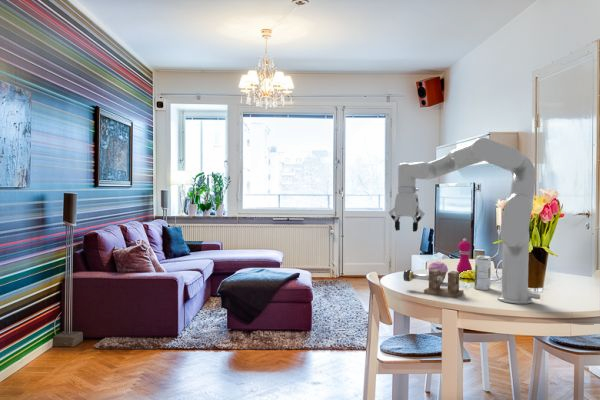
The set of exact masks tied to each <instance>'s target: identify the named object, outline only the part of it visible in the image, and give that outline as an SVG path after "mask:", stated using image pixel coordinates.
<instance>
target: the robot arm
mask: <svg viewBox="0 0 600 400" xmlns="http://www.w3.org/2000/svg"><path fill="white" fill-rule="evenodd" d="M481 162H486V163H489V164H491V165H494V166H496V167H499V168H502V169H504V170H506V171H509V172H510V173H511V174H512V177H511V178H512V179H511V183H510V184H511V185H510V193H509V196H508V198H507V200H506V202H505V203H504V206H503V207H504V208H503V215H502V221H501V227H500V234H499V235H500V239H501V241H502V255H501V260H502V261H501V263H502V264H501V294H498V295H497V297H496V298H497V300H498V301H500V302H504V303H510V304H518V305H519V304H520V305H521V304H522V305H525V304H526V305H527V304H532V302H533V299H535V300H541V294H540V293H536V292H534V293H533V292H530V289H529V260H530V254H529V253H530V252H529V251H530V230H529V229H530V223H531V217H532V212H533V209H534V196H535V189H536V179H537V172H536V167H535V165H534V163H533V162H532V160H531V159H530V158H529V157H528V156H527V155H526V154H524V153H522V152H521V151H520V150H519V149H516V148H514V147H511V146H509V145H505V144H503V143H501V142H497V141H495V140H493V139H491V138H488V137H478V138H476V139H474V141H473V142H472V143H469V144H466V145H463V146H461V147H457V148H455V149H452V150H450V151H449V152H448V153H447V154H446V155H444V156H442V157H441V158H438V159H435V160H431V161H428V162H427V161H417V162H401V163H399V164H398V167H397V169H398V170H397V171H398V172H397V176H398V177H397V193H396V195H395V199H394V207H393V208H392V209H391V210H389V211H388V214H389V216H390V217H391V219H392V220H393V221H394V229H395V231H400V228H401V226H400V225H401V222H400V219H401V217H407V218H410V217H411V218H412V222H413V223H412V231H413V232H414V233H415V232H417V231H418V229H419V222H420V221H421V220H422V218H424V216H425V214H426V213H425V212H424V211H423V210H422V209H420V206H419V205H420V204H419V203H420V201H419V195H418V194H417V192H419V187H418V188H417V186H416V180H417V179H419V180H429V181H430V180H433V179H435V178H439V177H442V176H445V175H447V174H450V173H452V172H456V171H458V170H462V169H464V168H467V167H469V166H473V165H475V164H479V163H481Z"/></svg>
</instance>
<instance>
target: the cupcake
mask: <svg viewBox="0 0 600 400" xmlns="http://www.w3.org/2000/svg"><path fill="white" fill-rule="evenodd" d="M427 269H428V272H429V271H430V270H433V269H437V270H440V276H442V282H440V284H442V283H443V282H444V281H445V279H446V276H447V273H449V269H448V266H447V264H446V263H445V262H442V261H432V262H431V263H430V264H429V265H428V268H427Z"/></svg>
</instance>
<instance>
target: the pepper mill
mask: <svg viewBox="0 0 600 400" xmlns="http://www.w3.org/2000/svg"><path fill="white" fill-rule="evenodd" d="M471 248H472V245H471V243H470V242H469V241H467V238H463V239H462V241H460V242H459V243H458V249H459V254H460V255H459V256H460V257H459V261H458V263H457V267H456V271H457V272H459V274H460V273H461V272H463V271H467V270H472V271H473V268H472V264H471V262H470V257H469V256H470V253H471V251H470V250H471Z"/></svg>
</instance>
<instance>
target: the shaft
mask: <svg viewBox="0 0 600 400" xmlns="http://www.w3.org/2000/svg"><path fill="white" fill-rule="evenodd" d="M413 280H419V281H426V282H427V281H428V282H429V274H424V273H423V274H422V273H414V271H412V270H411V269H404V272H403V281H404V282H412V281H413ZM437 282H442V276H437ZM442 283H443V282H442Z"/></svg>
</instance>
